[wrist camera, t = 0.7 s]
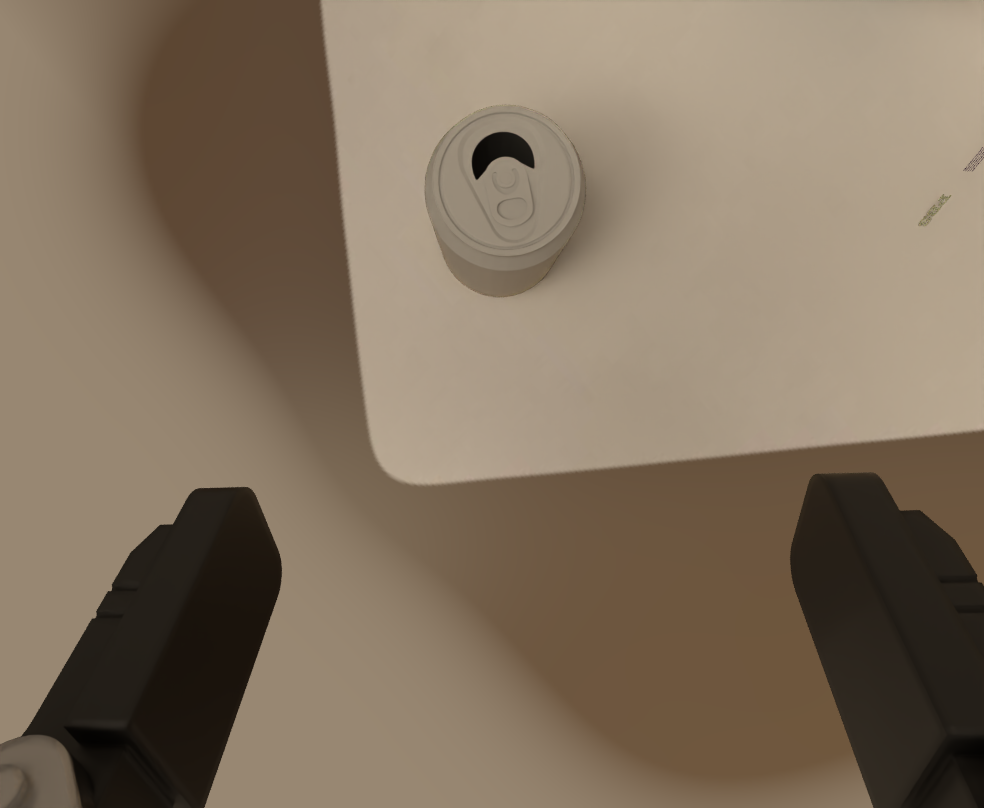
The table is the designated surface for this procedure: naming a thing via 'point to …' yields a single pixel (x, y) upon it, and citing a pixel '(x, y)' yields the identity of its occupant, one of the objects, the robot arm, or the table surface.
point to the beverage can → (504, 198)
